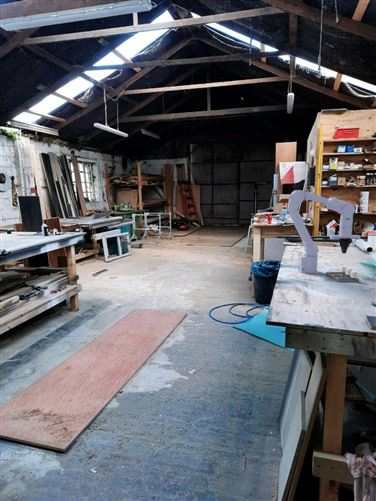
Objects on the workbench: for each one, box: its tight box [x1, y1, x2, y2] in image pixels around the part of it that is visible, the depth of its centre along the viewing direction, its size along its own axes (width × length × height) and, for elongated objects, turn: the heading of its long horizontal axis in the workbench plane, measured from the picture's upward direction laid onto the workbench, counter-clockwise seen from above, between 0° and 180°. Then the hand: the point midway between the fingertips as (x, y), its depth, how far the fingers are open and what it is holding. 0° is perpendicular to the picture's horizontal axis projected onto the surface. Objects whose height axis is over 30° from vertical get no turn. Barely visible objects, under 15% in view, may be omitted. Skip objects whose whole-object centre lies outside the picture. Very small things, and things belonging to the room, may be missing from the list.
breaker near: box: [350, 270, 358, 278], centre depth 152 cm, size 2×2×3 cm
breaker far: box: [339, 265, 348, 272], centre depth 163 cm, size 2×2×3 cm
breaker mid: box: [345, 267, 353, 275], centre depth 157 cm, size 2×2×3 cm
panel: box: [325, 271, 360, 283], centre depth 158 cm, size 10×14×1 cm
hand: (343, 253), depth 167 cm, fingers closed
